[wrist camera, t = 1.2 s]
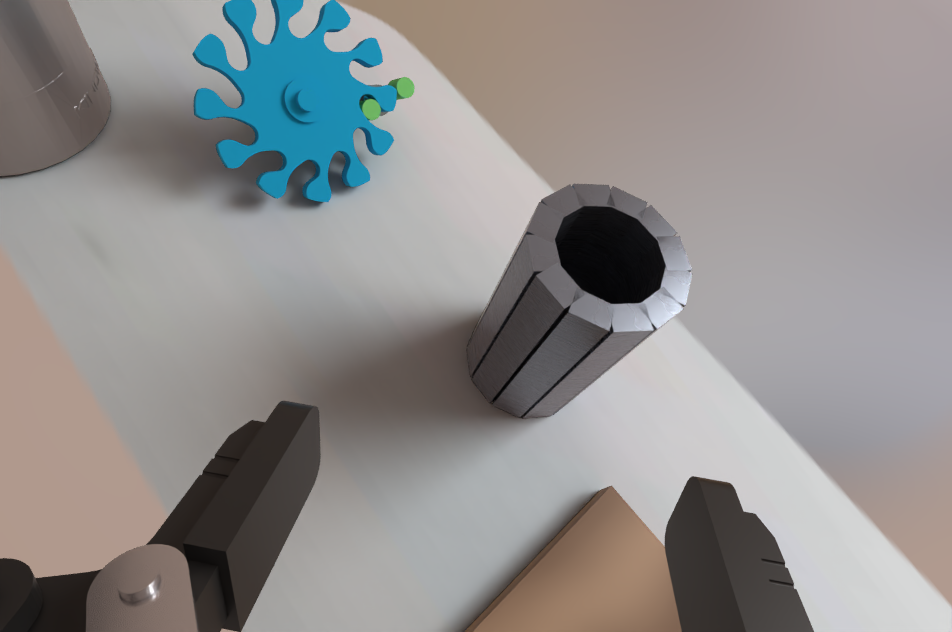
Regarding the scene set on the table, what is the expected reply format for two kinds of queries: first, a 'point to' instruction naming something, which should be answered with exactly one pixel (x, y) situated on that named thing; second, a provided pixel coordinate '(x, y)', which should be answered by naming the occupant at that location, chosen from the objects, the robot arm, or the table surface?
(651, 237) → the sleeve
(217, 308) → the table surface
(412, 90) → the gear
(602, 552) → the base plate
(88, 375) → the table surface
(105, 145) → the table surface
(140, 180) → the table surface
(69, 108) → the robot arm
